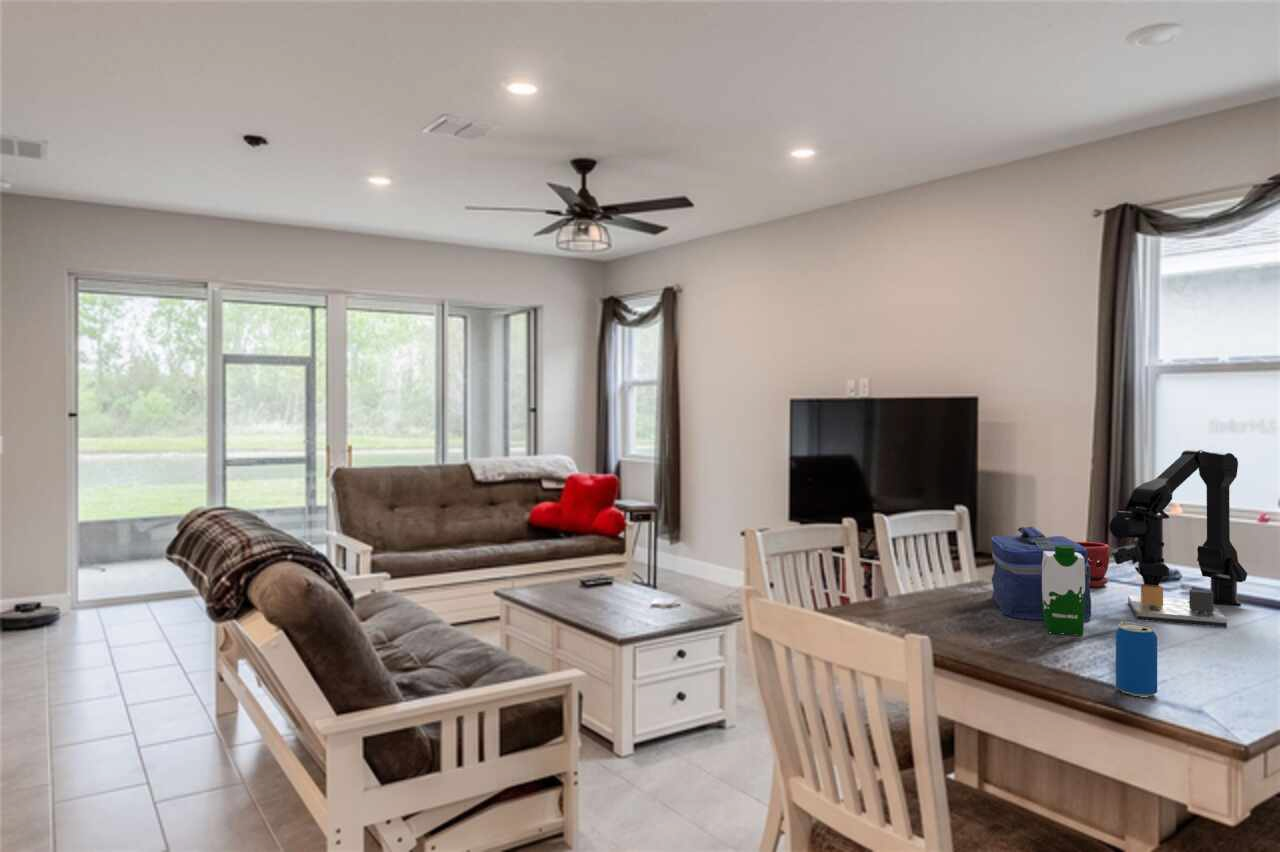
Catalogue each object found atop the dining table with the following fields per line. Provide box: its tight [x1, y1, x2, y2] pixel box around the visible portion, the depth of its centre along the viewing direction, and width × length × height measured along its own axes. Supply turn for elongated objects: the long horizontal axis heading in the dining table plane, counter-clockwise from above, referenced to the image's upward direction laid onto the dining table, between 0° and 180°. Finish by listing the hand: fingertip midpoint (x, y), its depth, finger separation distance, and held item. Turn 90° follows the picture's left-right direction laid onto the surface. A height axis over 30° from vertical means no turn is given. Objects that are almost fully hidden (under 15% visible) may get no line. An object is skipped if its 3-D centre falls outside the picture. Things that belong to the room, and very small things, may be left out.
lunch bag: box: [990, 526, 1092, 622], centre depth 215 cm, size 31×21×20 cm
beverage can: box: [1115, 622, 1158, 697], centre depth 150 cm, size 6×6×12 cm
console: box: [1127, 594, 1228, 628], centre depth 207 cm, size 20×18×2 cm
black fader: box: [1189, 589, 1215, 615], centre depth 201 cm, size 3×4×6 cm
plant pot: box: [1075, 541, 1110, 588], centre depth 243 cm, size 13×13×12 cm
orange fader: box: [1140, 583, 1164, 610], centre depth 208 cm, size 3×4×6 cm
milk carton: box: [1042, 545, 1085, 636], centre depth 192 cm, size 9×9×20 cm
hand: (1149, 597), depth 211 cm, fingers closed
